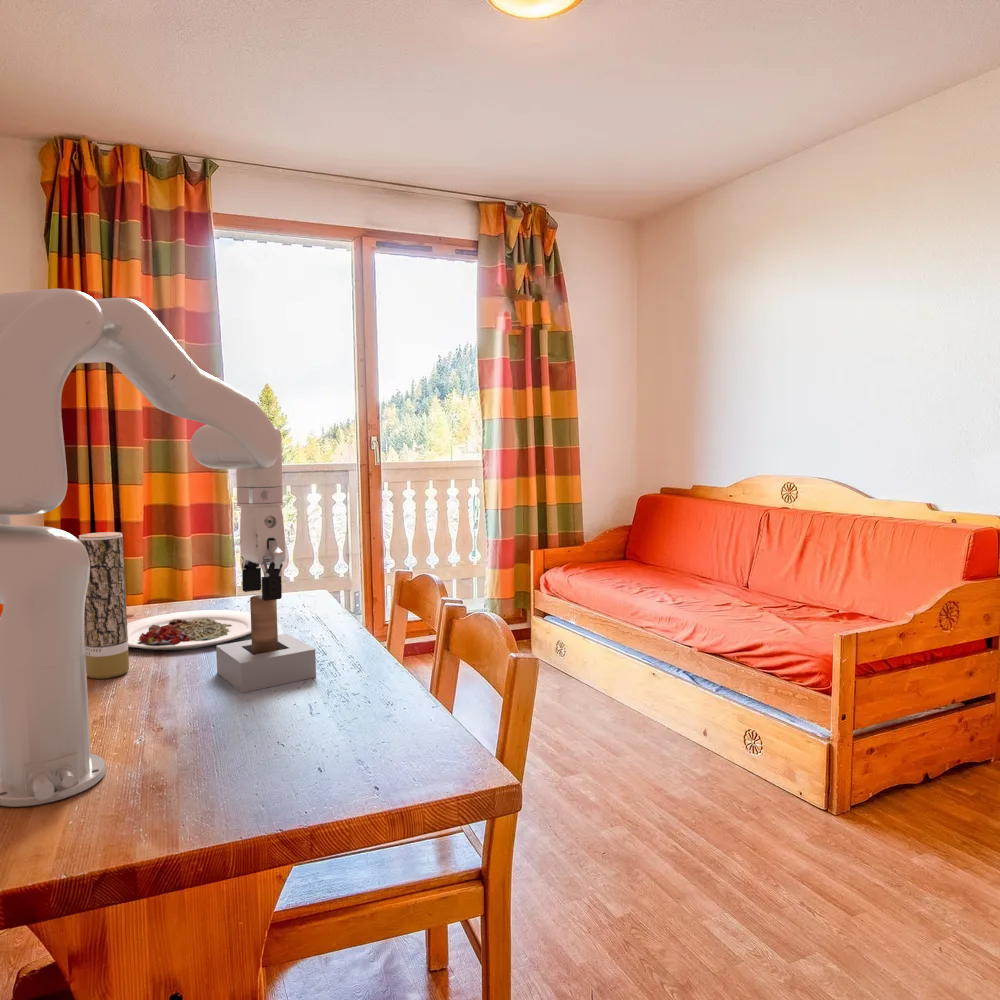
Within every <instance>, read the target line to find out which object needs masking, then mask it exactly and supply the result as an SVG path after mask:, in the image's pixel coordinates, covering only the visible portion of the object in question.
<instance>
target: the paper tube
mask: <svg viewBox="0 0 1000 1000" xmlns="http://www.w3.org/2000/svg"><path fill="white" fill-rule="evenodd" d="M123 537H124V535H123V532H121V531H119V532H118V531H117V532H116V531H111V532H110V531H104V532H91V533H83V534H80V535H78V540H79V541H80V542H81V543H82V544H83V545H84V547H85V549H86V550H87V553H88V556H89V560H90V575H89V582H88V588H87V593H86V600H85V610H84V639H85V656H86V674H87V677H89V678H91V679H97V680H102V679H112V678H116V677H119V676H122V675H124V674H126V673H128V671H129V669H130V660H129V659H130V658H129V647H128V632H127V623H128V620H127V619H128V616H127V614H128V613H127V596H126V592H127V591H126V580H125V579H126V577H125V575H126V574H125V556H124V553H125V552H124V539H123Z"/></svg>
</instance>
